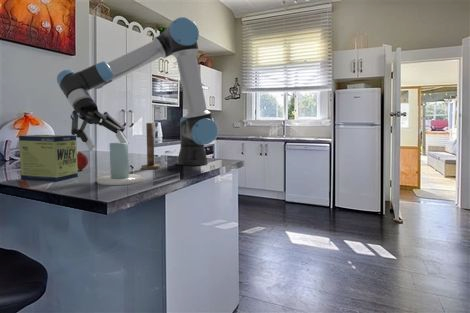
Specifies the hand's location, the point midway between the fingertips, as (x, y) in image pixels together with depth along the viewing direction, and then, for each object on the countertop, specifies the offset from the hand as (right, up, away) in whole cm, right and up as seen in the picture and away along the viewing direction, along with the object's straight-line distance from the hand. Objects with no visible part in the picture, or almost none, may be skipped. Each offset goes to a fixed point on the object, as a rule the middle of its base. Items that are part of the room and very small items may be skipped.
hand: (110, 146), depth 111 cm
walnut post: (+6, -9, +30) cm, 32 cm away
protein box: (-23, -11, +4) cm, 26 cm away
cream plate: (+4, -12, 0) cm, 12 cm away
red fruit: (-21, -9, +23) cm, 33 cm away
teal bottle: (+4, -11, -1) cm, 11 cm away
